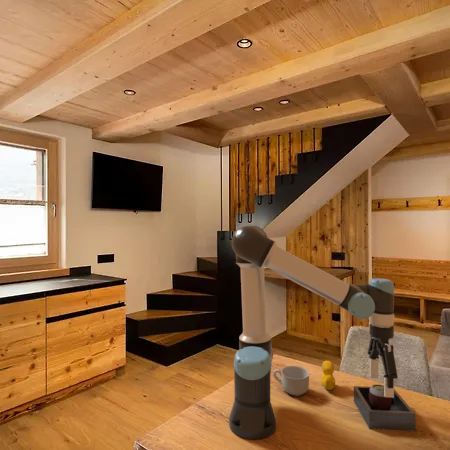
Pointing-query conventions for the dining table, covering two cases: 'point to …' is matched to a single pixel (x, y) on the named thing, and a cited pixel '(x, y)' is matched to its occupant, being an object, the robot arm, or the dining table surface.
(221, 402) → the dining table surface
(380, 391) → the mate gourd
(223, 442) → the dining table surface
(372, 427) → the tray
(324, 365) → the duckling
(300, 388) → the teacup
